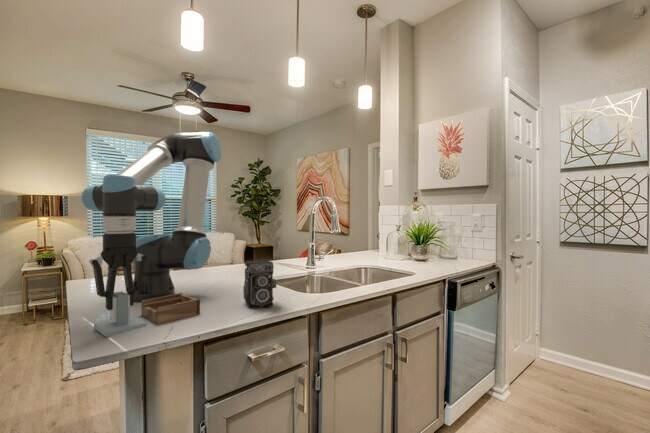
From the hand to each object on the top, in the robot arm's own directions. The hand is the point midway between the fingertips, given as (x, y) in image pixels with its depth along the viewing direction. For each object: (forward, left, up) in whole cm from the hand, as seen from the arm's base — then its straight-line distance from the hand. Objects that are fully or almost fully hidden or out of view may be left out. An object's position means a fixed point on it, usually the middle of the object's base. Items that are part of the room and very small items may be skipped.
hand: (120, 319), depth 86 cm
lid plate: (0, 0, -2) cm, 2 cm away
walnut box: (0, +14, -2) cm, 14 cm away
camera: (+12, +38, -3) cm, 39 cm away
